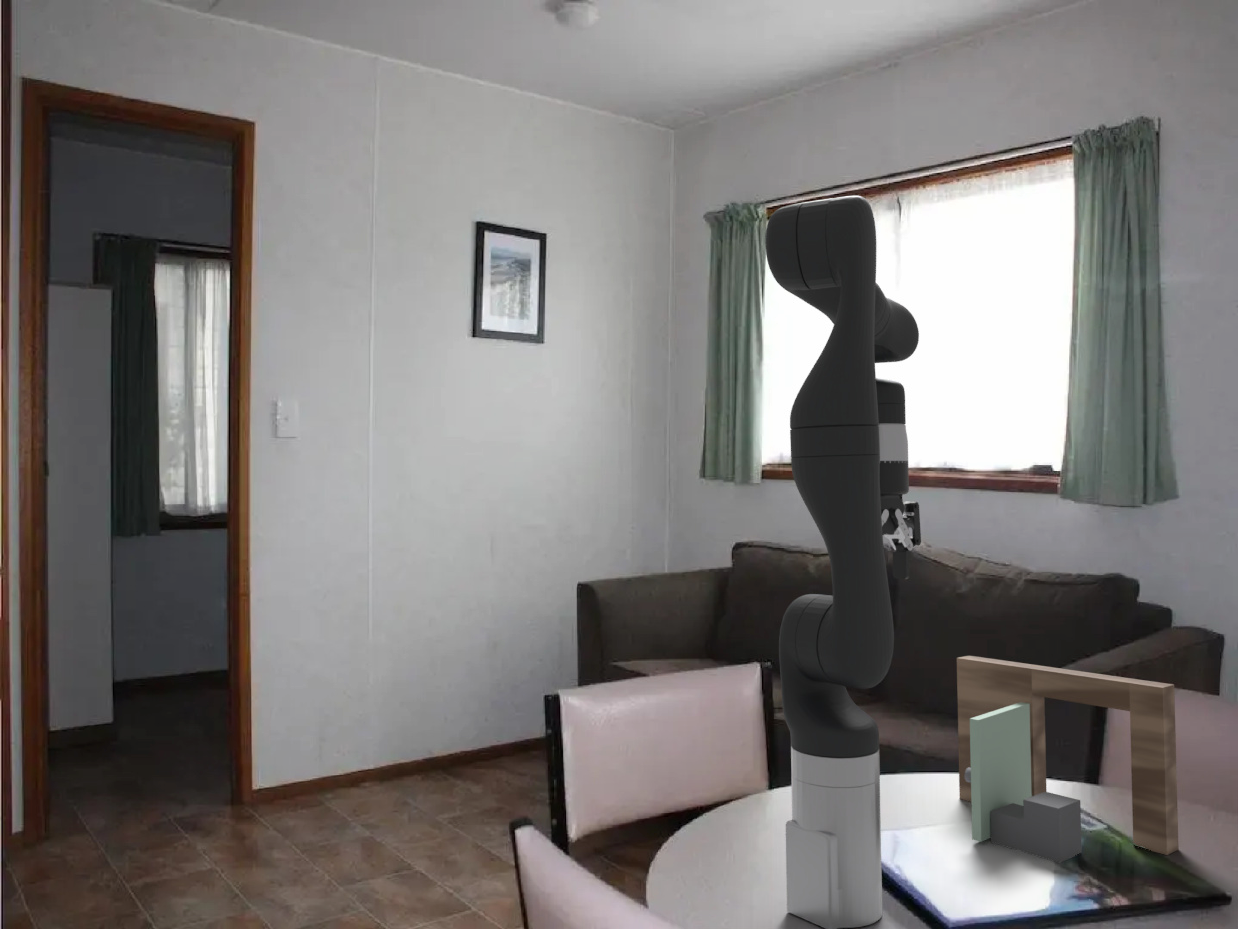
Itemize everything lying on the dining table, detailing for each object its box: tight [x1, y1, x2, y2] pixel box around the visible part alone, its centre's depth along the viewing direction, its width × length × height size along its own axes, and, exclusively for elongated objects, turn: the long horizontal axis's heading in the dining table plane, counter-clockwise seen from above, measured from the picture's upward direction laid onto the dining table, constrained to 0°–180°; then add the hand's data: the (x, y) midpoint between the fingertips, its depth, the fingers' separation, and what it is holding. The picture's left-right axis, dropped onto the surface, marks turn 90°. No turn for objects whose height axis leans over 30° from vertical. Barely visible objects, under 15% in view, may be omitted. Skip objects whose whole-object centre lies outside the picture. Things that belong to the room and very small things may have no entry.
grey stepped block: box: [990, 791, 1083, 864], centre depth 124 cm, size 5×9×6 cm, turn 37°
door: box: [965, 702, 1032, 843], centre depth 130 cm, size 2×14×15 cm, turn 132°
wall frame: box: [956, 655, 1179, 856], centre depth 133 cm, size 3×28×20 cm, turn 37°
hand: (881, 580), depth 134 cm, fingers open, 8 cm apart
